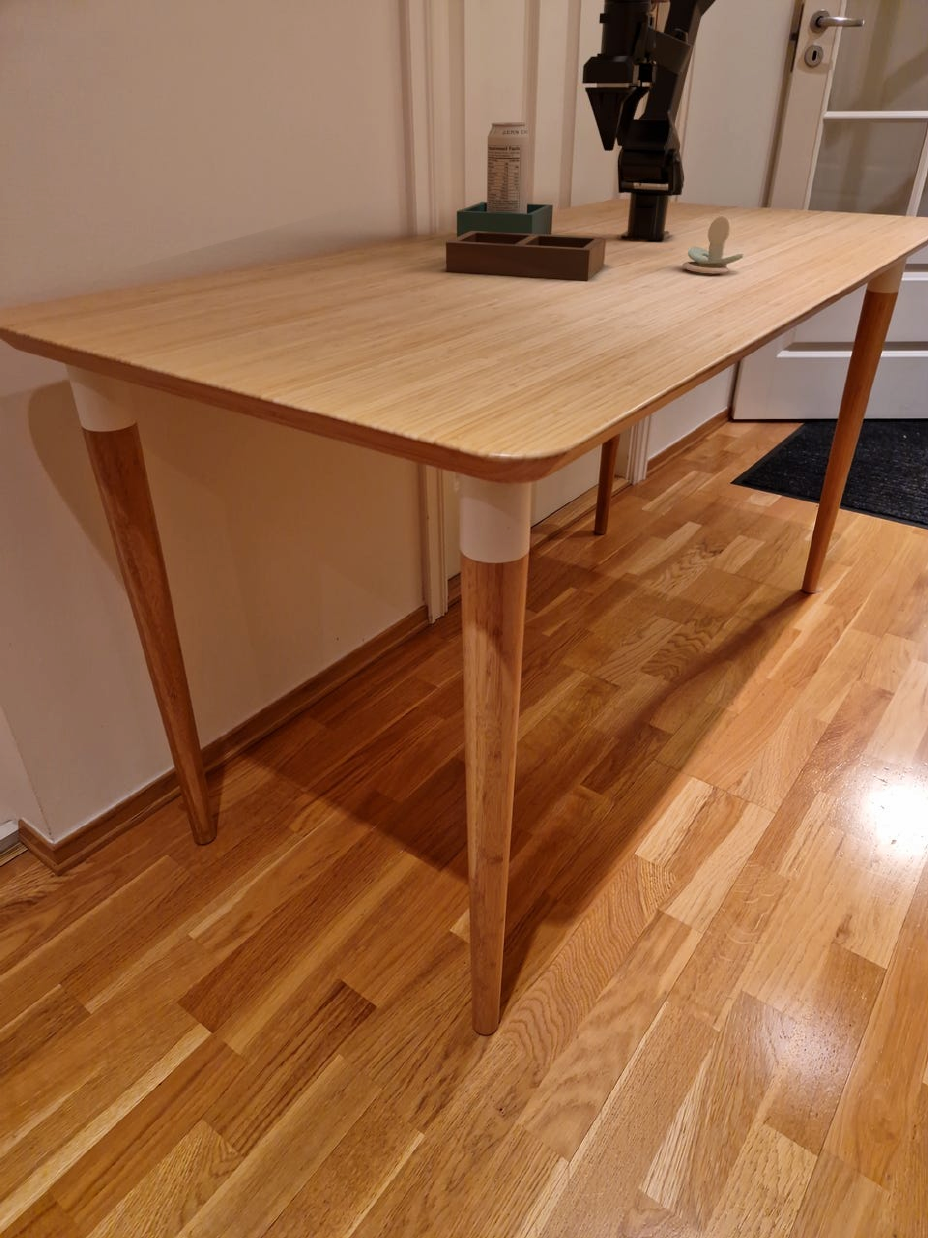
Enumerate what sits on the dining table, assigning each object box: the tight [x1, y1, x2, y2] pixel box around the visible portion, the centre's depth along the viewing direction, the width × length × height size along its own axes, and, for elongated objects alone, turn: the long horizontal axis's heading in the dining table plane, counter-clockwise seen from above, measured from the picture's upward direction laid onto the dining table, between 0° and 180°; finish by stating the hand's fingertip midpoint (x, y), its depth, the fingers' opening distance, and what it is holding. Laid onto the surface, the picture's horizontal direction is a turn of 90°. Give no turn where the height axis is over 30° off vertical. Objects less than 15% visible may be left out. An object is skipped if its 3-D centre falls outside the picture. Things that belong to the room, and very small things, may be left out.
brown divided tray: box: [445, 231, 607, 282], centre depth 108 cm, size 10×19×4 cm, turn 70°
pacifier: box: [681, 216, 744, 274], centre depth 106 cm, size 7×6×6 cm
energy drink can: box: [486, 121, 530, 214], centre depth 124 cm, size 6×6×15 cm
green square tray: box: [456, 201, 554, 238], centre depth 127 cm, size 12×12×4 cm
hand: (615, 148), depth 112 cm, fingers open, 9 cm apart
